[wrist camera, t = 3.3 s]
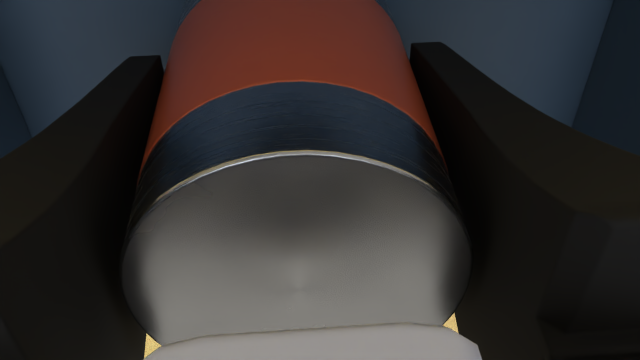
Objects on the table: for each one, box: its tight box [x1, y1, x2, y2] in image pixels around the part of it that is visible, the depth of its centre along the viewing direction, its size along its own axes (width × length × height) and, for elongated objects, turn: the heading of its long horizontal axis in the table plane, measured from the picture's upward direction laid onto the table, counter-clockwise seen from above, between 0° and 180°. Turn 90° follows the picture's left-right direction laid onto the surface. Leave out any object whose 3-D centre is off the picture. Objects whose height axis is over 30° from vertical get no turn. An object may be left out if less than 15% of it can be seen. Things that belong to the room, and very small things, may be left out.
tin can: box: [118, 0, 474, 346], centre depth 11 cm, size 5×5×7 cm
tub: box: [0, 0, 640, 158], centre depth 12 cm, size 16×15×4 cm
